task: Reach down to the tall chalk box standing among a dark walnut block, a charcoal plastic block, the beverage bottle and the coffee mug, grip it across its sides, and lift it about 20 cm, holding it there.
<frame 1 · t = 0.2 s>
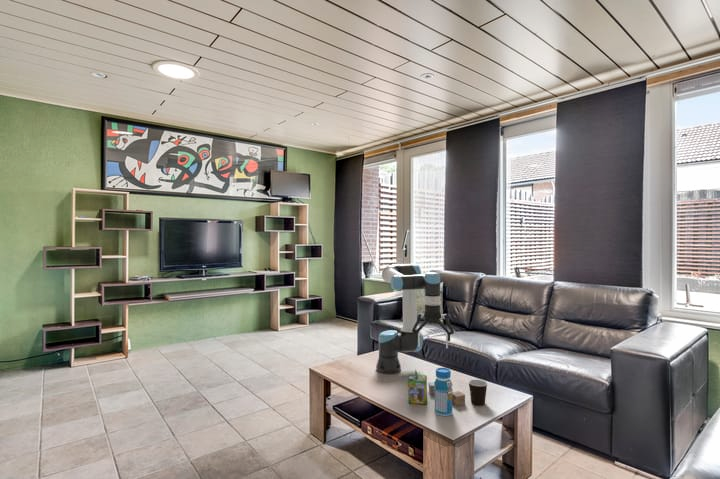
hand: (432, 347, 191), 27 cm above the table, tool pointing down, fingers open, 13 cm apart
beverage bottle: (443, 412, 180), on the table
walnut block: (457, 403, 189), on the table
chalk box: (417, 400, 194), on the table
charcoal block: (434, 393, 202), on the table
coffee mug: (478, 402, 191), on the table
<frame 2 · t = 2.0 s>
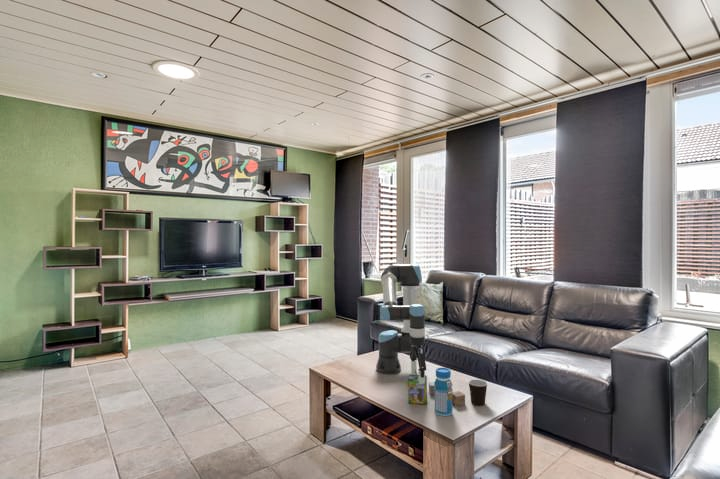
hand: (417, 378, 193), 11 cm above the table, tool pointing down, fingers open, 13 cm apart
nothing on the table moved.
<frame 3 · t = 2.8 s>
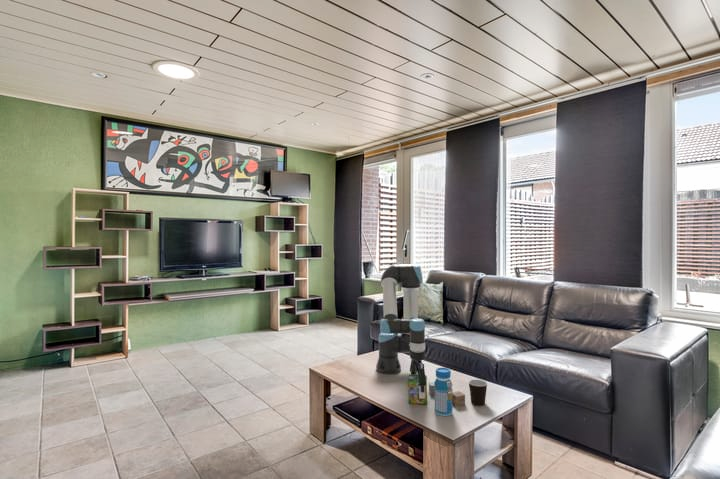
hand: (417, 392, 193), 4 cm above the table, tool pointing down, fingers open, 13 cm apart
nothing on the table moved.
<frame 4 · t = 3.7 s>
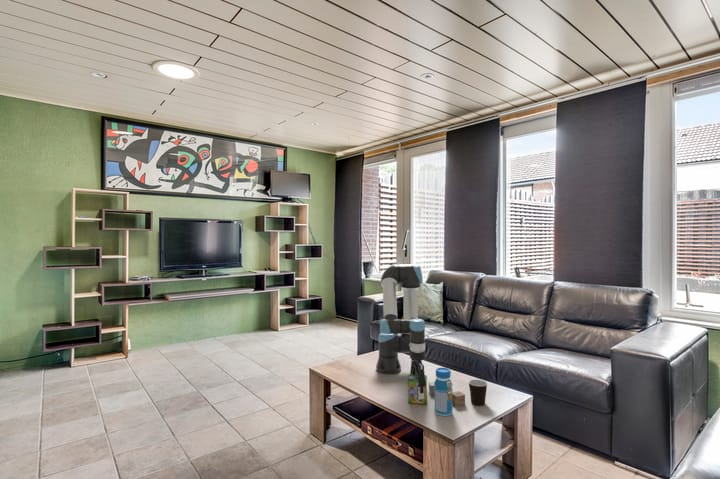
hand: (417, 394, 193), 3 cm above the table, tool pointing down, fingers closed on chalk box, 11 cm apart
chalk box: (417, 400, 194), on the table, touching gripper
everything else where it was.
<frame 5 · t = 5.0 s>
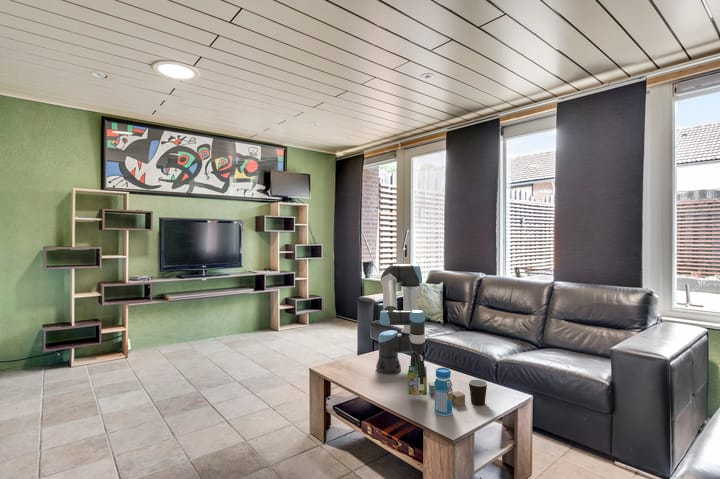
hand: (417, 385, 194), 7 cm above the table, tool pointing down, fingers closed on chalk box, 11 cm apart
chalk box: (417, 391, 194), point 4 cm above the table, touching gripper
everything else where it was.
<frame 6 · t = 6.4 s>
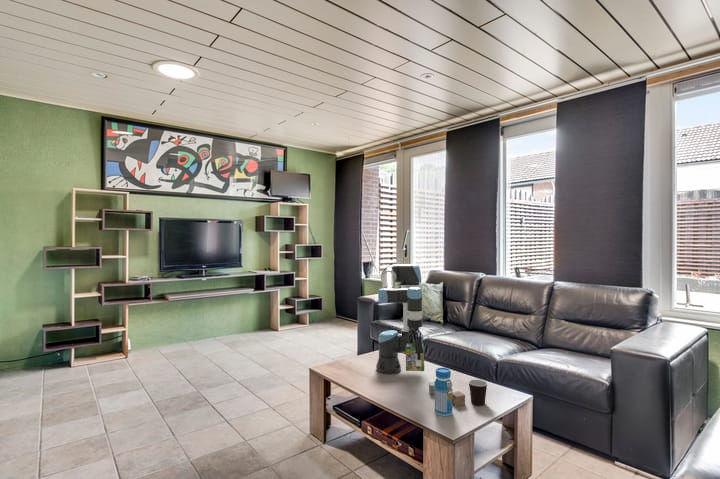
hand: (415, 362, 194), 19 cm above the table, tool pointing down, fingers closed on chalk box, 11 cm apart
chalk box: (415, 368, 195), point 16 cm above the table, touching gripper
everything else where it was.
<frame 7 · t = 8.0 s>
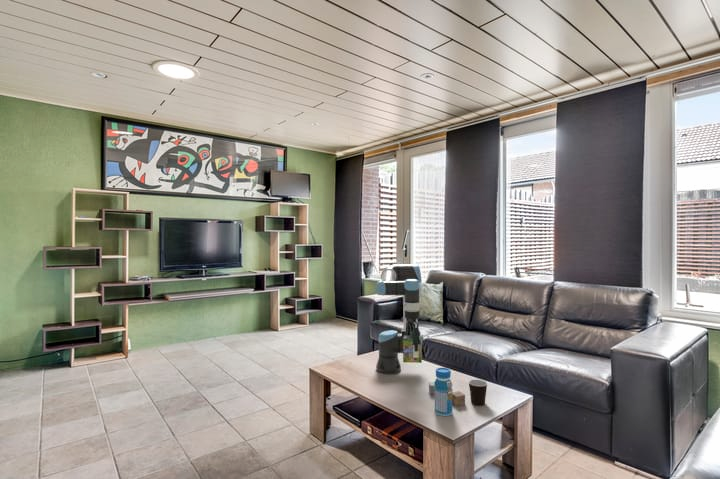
hand: (412, 353, 195), 23 cm above the table, tool pointing down, fingers closed on chalk box, 11 cm apart
chalk box: (412, 360, 195), point 20 cm above the table, touching gripper
everything else where it was.
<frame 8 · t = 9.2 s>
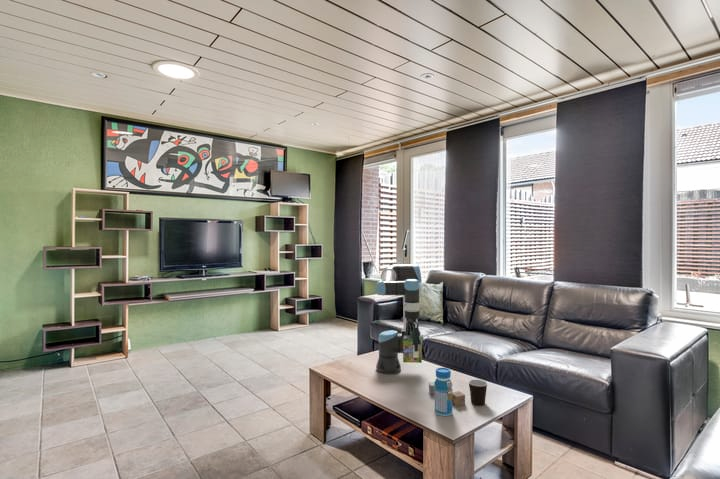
hand: (412, 353, 195), 23 cm above the table, tool pointing down, fingers closed on chalk box, 11 cm apart
chalk box: (412, 360, 195), point 20 cm above the table, touching gripper
everything else where it was.
at the end: the gripper is holding chalk box; chalk box point 19.6 cm above the table; beverage bottle moved 0.2 cm from its start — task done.
